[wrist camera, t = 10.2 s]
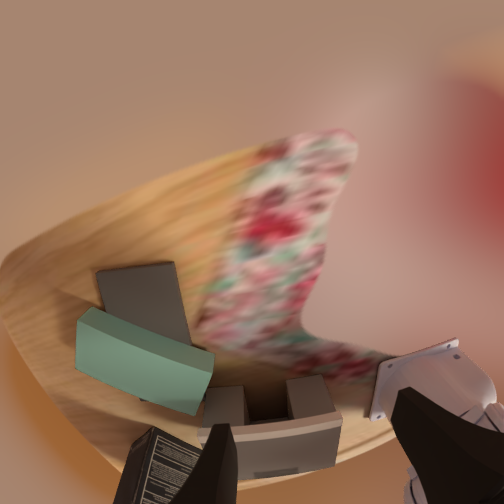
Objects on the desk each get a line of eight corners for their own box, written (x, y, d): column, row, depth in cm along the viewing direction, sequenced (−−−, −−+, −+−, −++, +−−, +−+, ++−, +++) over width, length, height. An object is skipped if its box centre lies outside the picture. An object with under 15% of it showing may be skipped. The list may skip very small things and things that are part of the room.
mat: (173, 261, 18) (172, 264, 18) (206, 396, 21) (205, 401, 21) (99, 270, 18) (95, 273, 18) (142, 396, 21) (140, 401, 21)
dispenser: (321, 366, 21) (343, 418, 15) (319, 419, 23) (334, 467, 17) (205, 381, 21) (196, 436, 15) (220, 431, 23) (217, 481, 17)
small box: (128, 445, 23) (105, 517, 13) (153, 423, 22) (128, 509, 12) (205, 481, 25) (200, 548, 15) (238, 463, 24) (239, 541, 14)
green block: (77, 319, 16) (75, 368, 17) (212, 373, 17) (194, 416, 18) (91, 306, 18) (87, 353, 19) (215, 353, 20) (198, 396, 21)
